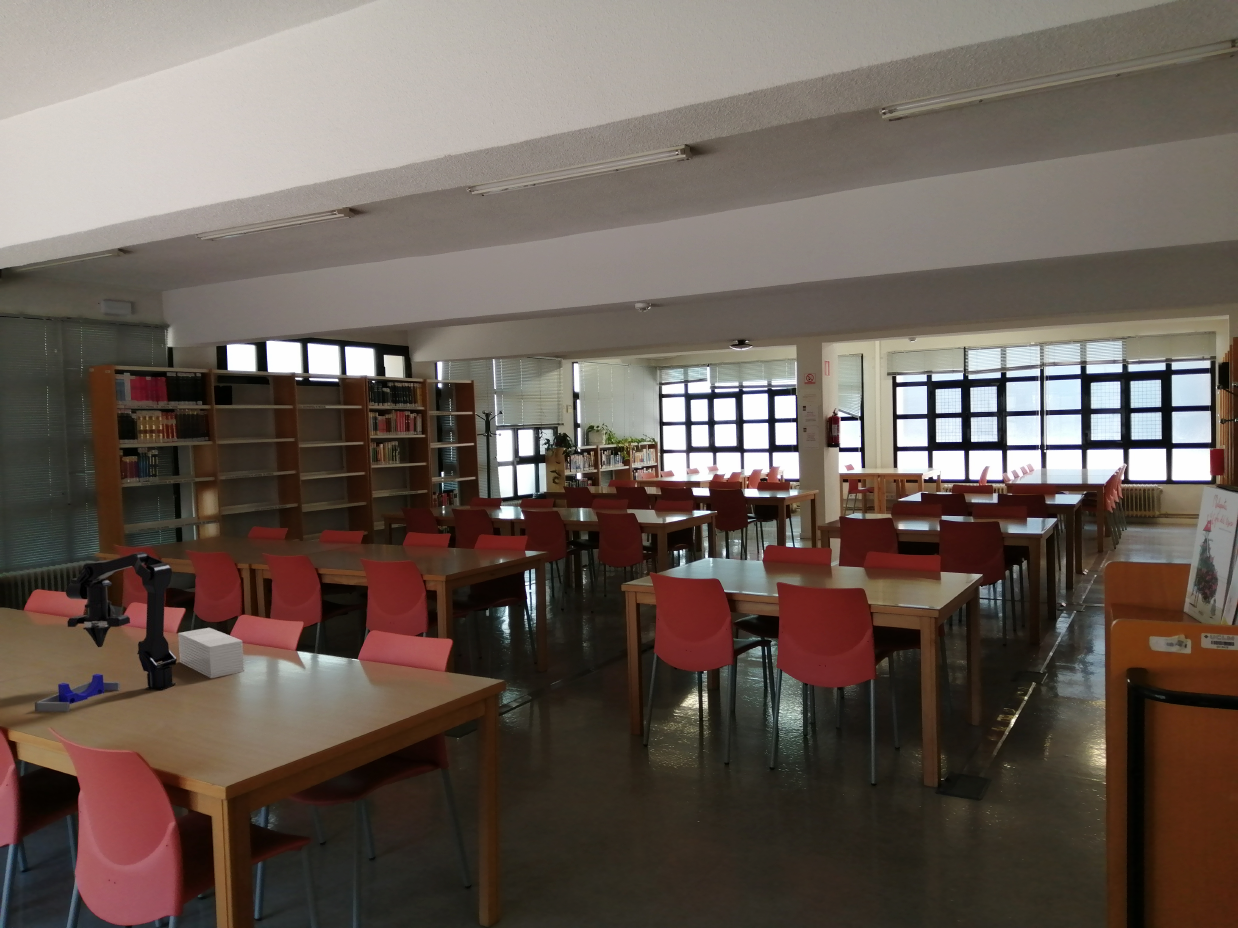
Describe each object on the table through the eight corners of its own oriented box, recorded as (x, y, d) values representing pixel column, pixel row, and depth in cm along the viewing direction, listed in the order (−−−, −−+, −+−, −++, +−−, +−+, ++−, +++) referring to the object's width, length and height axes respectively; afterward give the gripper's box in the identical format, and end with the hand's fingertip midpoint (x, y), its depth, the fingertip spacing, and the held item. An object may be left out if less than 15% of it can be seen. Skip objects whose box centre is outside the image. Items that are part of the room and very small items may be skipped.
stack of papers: (244, 671, 297) (242, 640, 297) (211, 678, 290) (209, 646, 289) (211, 656, 320) (209, 627, 320) (179, 662, 313) (178, 632, 312)
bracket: (120, 689, 279) (119, 681, 279) (67, 711, 258) (67, 703, 258) (89, 689, 281) (89, 681, 281) (35, 711, 259) (34, 702, 259)
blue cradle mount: (68, 705, 265) (66, 685, 265) (59, 703, 267) (58, 683, 267) (106, 693, 276) (105, 675, 276) (98, 692, 278) (97, 673, 278)
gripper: (140, 594, 294) (142, 640, 294) (90, 595, 297) (92, 641, 297) (116, 601, 283) (119, 649, 283) (64, 601, 286) (67, 649, 286)
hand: (100, 646), depth 288 cm, fingers closed
